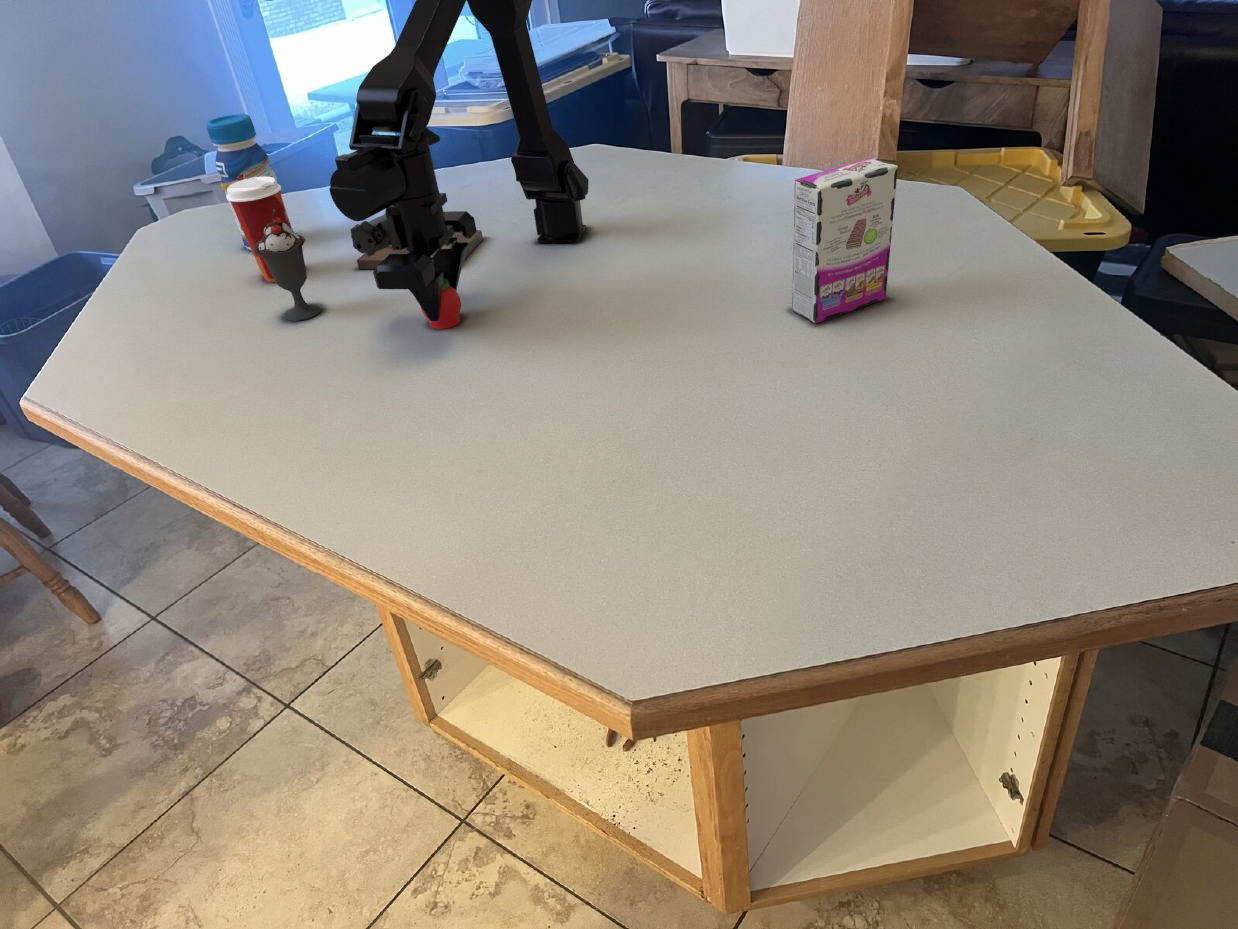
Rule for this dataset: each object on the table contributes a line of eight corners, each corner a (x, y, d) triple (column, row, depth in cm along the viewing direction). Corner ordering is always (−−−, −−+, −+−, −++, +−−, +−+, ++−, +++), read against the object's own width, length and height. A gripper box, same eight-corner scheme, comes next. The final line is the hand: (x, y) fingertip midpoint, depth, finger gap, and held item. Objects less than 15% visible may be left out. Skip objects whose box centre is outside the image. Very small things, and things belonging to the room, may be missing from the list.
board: (483, 238, 132) (481, 228, 131) (456, 269, 122) (453, 258, 121) (391, 239, 135) (389, 229, 134) (358, 269, 126) (355, 258, 125)
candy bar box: (859, 286, 105) (871, 155, 96) (886, 300, 102) (901, 164, 92) (788, 310, 102) (793, 176, 92) (814, 325, 98) (821, 187, 88)
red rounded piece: (470, 313, 109) (462, 274, 106) (456, 331, 105) (447, 291, 102) (434, 312, 110) (424, 274, 107) (418, 330, 106) (408, 291, 103)
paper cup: (318, 267, 128) (289, 176, 120) (283, 287, 123) (250, 193, 114) (281, 262, 131) (250, 173, 123) (245, 282, 126) (210, 190, 117)
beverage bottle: (292, 230, 144) (252, 108, 132) (299, 244, 137) (258, 118, 125) (242, 241, 141) (197, 118, 129) (247, 256, 135) (199, 129, 123)
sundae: (313, 324, 111) (276, 215, 102) (269, 323, 112) (229, 215, 104) (336, 302, 116) (303, 197, 107) (294, 302, 118) (257, 198, 109)
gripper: (386, 169, 107) (414, 281, 116) (315, 220, 92) (353, 344, 101) (465, 166, 104) (488, 281, 114) (406, 219, 90) (437, 346, 99)
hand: (442, 311), depth 107 cm, fingers closed on red rounded piece, 5 cm apart
